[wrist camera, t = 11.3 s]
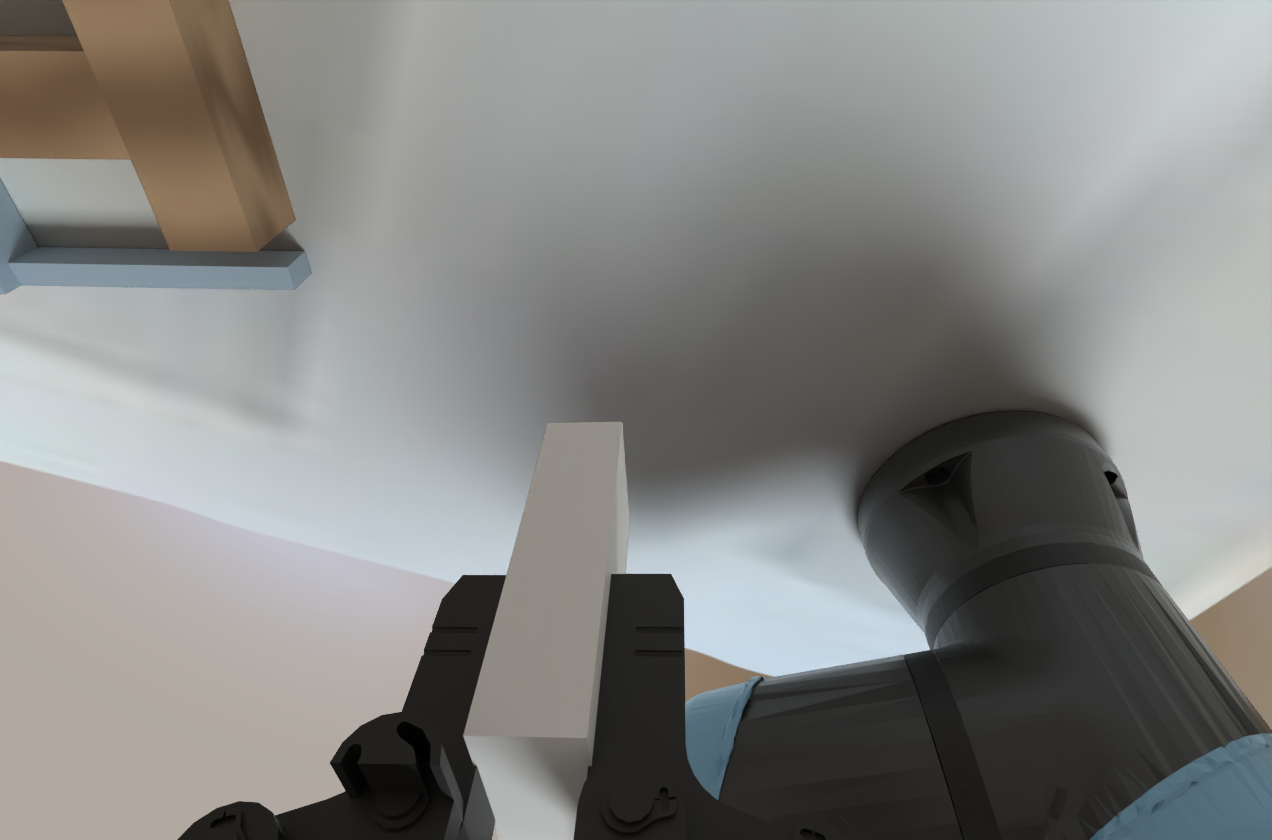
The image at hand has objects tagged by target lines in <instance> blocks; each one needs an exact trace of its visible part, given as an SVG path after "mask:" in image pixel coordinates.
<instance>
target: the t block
mask: <svg viewBox="0 0 1272 840" xmlns="http://www.w3.org/2000/svg"><path fill="white" fill-rule="evenodd" d="M62 1H63V4H64V6H65V8H66V11H67V13H68V15H69V18H70V20H71V22H72V24H73V27H74V29H75V31H76V34H77V36H37V35H0V158H47V159H128V160H131V161H132V163H133V166H134V168H135V170H136V173H137V175H138V177H139V180H140V182H141V184H142V187H143V189H144V191H145V193H146V196H147V198H148V200H149V203H150V205H151V207H152V210H153V212H154V214H155V217H156V219H157V221H158V224H159V226H160V228H161V230H162V233H163V235H164V237H165V240H166V242H167V244H168V247H169V249H170V251H225V252H258V251H259V250H260V249H261V248H263V247H264V246H265V245H266V244H267V243H269V242H270V241H271V240H272V239H273V238H275V237H276V236H277V235H278V234H279V233H281V232H282V231H283V230H284V229H286V228H287V227H288V226H289V225H290V224H292V223H293V222H294V221H295V220H296V219H295V216H294V212H293V209H292V206H291V203H290V199H289V196H288V193H287V190H286V186H285V183H284V180H283V177H282V173H281V170H280V167H279V163H278V160H277V157H276V154H275V150H274V147H273V144H272V141H271V137H270V134H269V131H268V127H267V124H266V121H265V118H264V114H263V111H262V108H261V105H260V101H259V98H258V95H257V92H256V88H255V85H254V82H253V78H252V75H251V72H250V69H249V65H248V62H247V59H246V56H245V52H244V49H243V46H242V42H241V39H240V36H239V33H238V29H237V26H236V23H235V20H234V16H233V13H232V10H231V7H230V3H229V0H62Z"/></svg>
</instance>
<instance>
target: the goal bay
mask: <svg viewBox="0 0 1272 840" xmlns="http://www.w3.org/2000/svg"><path fill="white" fill-rule="evenodd" d="M310 274H311V270H310V267H309V263H308V260H307V257H306V253H305V251H262V250H259V251H258V252H225V251H170V249H134V248H70V247H38V246H37V244H36V243H35V241H34V239H33V237H32V235H31V234H30V232H29V230H28V228H27V226H26V225H25V223H24V221H23V219H22V217H21V216H20V214H19V212H18V210H17V208H16V207H15V205H14V203H13V201H12V199H11V197H10V196H9V194H8V192H7V190H6V188H5V187H4V185H3V183H2V181H1V179H0V294H7V293H9V292H10V291H12V290H14V289H15V288H17V287H19V286H21V285H33V286H91V287H149V288H207V289H266V290H295V289H296V288H297V287H298V286H299V285H300V284H301V283H302V282H303V281H304V280H305V279H306V278H307V277H308V276H309V275H310Z"/></svg>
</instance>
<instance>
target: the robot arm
mask: <svg viewBox="0 0 1272 840" xmlns="http://www.w3.org/2000/svg"><path fill="white" fill-rule="evenodd" d="M629 525H630V520H629V507H628V493H627V479H626V465H625V452H624V438H623V424H622V422H556V423H547V427H546V431H545V434H544V438H543V442H542V445H541V449H540V453H539V456H538V460H537V464H536V468H535V471H534V475H533V479H532V482H531V486H530V490H529V494H528V497H527V501H526V505H525V508H524V512H523V516H522V519H521V523H520V527H519V531H518V534H517V538H516V542H515V545H514V549H513V553H512V556H511V560H510V564H509V568H508V571H507V575H463V576H462V577H461V578H460V579H459V580H458V581H457V583H456V584H455V585H454V586H453V587H452V588H451V590H450V591H449V592H448V593H447V594H446V595H445V597H444V598H443V599H442V601H441V604H440V607H439V610H438V612H437V615H436V618H435V621H434V623H433V626H432V629H433V630H432V632H431V633H430V635H429V637H428V640H427V643H426V646H425V648H424V655H423V656H422V657H421V660H420V662H419V665H418V668H417V671H416V674H415V676H414V679H413V682H412V685H411V688H410V690H409V693H408V696H407V699H406V702H405V704H404V707H403V710H402V712H399V713H393V714H386V715H382V716H379V717H377V718H375V719H374V720H371V721H370V722H367V723H366V724H363V725H362V726H360V727H359V728H358V729H357V730H356V731H355V732H354V733H353V734H351V735H350V736H349V737H348V738H347V739H346V740H345V741H344V742H343V743H342V744H341V746H340V747H339V749H338V751H337V752H336V754H335V755H334V757H333V759H332V760H331V762H330V764H331V766H332V767H333V769H334V771H335V772H336V774H337V776H338V778H339V780H340V781H341V783H342V785H343V787H344V788H345V790H346V791H345V792H343V793H341V794H339V795H336V796H334V797H332V798H329V799H327V800H323V801H320V802H317V803H314V804H310V805H307V806H304V807H301V808H298V809H295V810H291V811H288V812H285V813H282V814H279V815H274V814H273V813H272V812H271V811H270V810H268V809H267V808H265V807H264V806H262V805H261V804H260V803H255V802H241V801H239V802H236V803H233V804H229V805H226V806H222V807H219V808H217V809H215V810H213V811H212V812H210V813H209V814H207V815H205V816H204V817H202V818H201V819H199V820H198V821H196V822H194V823H193V824H192V825H191V826H190V827H189V828H188V829H187V830H186V832H185V833H184V834H183V835H182V836H181V837H180V838H179V839H178V840H492V835H493V830H494V826H495V829H496V832H497V834H498V838H499V840H1272V730H1271V729H1270V727H1269V726H1268V725H1267V723H1266V722H1265V721H1264V720H1263V718H1262V717H1261V715H1260V714H1259V713H1258V712H1257V710H1256V709H1255V708H1254V706H1253V705H1252V704H1251V702H1250V701H1249V700H1248V698H1247V697H1246V696H1245V694H1244V693H1243V692H1242V690H1241V689H1240V688H1239V686H1238V685H1237V684H1236V682H1235V681H1234V680H1233V679H1232V677H1231V676H1230V675H1229V673H1228V672H1227V671H1226V669H1225V668H1224V667H1223V665H1222V664H1221V663H1220V661H1219V660H1218V659H1217V657H1216V656H1215V655H1214V653H1213V652H1212V651H1211V649H1210V648H1209V647H1208V645H1207V644H1206V643H1205V642H1204V640H1203V639H1202V638H1201V636H1200V635H1199V634H1198V632H1197V631H1196V630H1195V628H1194V627H1193V626H1192V624H1191V623H1190V622H1189V620H1188V619H1187V618H1186V616H1185V615H1184V614H1183V612H1182V611H1181V610H1180V608H1179V607H1178V606H1177V605H1176V603H1175V602H1174V601H1173V599H1172V598H1171V597H1170V595H1169V594H1168V593H1167V591H1166V590H1165V589H1164V588H1163V586H1162V585H1161V584H1160V582H1159V581H1158V580H1157V578H1156V577H1155V575H1154V574H1153V573H1152V571H1151V570H1150V568H1149V567H1148V566H1147V564H1146V563H1145V561H1144V559H1143V555H1142V551H1141V547H1140V543H1139V539H1138V535H1137V531H1136V527H1135V523H1134V519H1133V515H1132V511H1131V507H1130V504H1129V501H1128V497H1127V491H1126V488H1125V484H1124V481H1123V479H1122V476H1121V474H1120V472H1119V471H1118V469H1117V467H1116V466H1115V464H1114V463H1113V462H1112V460H1111V459H1110V458H1109V457H1108V455H1107V454H1106V453H1105V452H1104V450H1103V449H1102V448H1101V447H1100V445H1099V444H1098V443H1097V442H1096V441H1095V440H1094V438H1093V437H1092V436H1091V435H1089V434H1088V433H1087V432H1086V431H1085V430H1083V429H1082V428H1080V427H1079V426H1077V425H1075V424H1073V423H1071V422H1069V421H1067V420H1064V419H1061V418H1058V417H1055V416H1051V415H1047V414H1042V413H1036V412H1025V411H1006V412H994V413H987V414H981V415H976V416H972V417H968V418H964V419H961V420H957V421H954V422H951V423H949V424H946V425H943V426H941V427H938V428H936V429H934V430H932V431H930V432H928V433H926V434H924V435H922V436H920V437H919V438H917V439H915V440H914V441H912V442H910V443H909V444H907V445H906V446H905V447H903V448H902V449H901V450H899V451H898V452H897V453H895V454H894V455H893V456H892V457H891V458H890V459H889V460H888V461H887V462H886V463H885V464H884V465H883V466H882V467H881V468H880V469H879V470H878V471H877V473H876V474H875V475H874V477H873V478H872V479H871V481H870V483H869V484H868V486H867V488H866V490H865V492H864V494H863V496H862V499H861V502H860V506H859V511H858V528H859V533H860V536H861V539H862V542H863V546H864V549H865V552H866V555H867V558H868V561H869V563H870V565H871V567H872V568H873V570H874V572H875V573H876V575H877V576H878V577H879V579H880V580H881V581H882V582H883V583H884V584H885V585H886V586H887V587H888V589H889V590H890V591H891V593H892V594H893V595H894V596H895V598H896V599H897V600H898V601H899V603H900V604H901V605H902V606H903V608H904V609H905V610H906V611H907V613H908V614H909V615H910V616H911V617H912V619H913V620H914V621H915V622H916V623H917V625H918V626H919V627H920V628H921V629H922V631H923V632H924V634H925V636H926V639H927V642H928V645H929V647H930V650H928V651H922V652H917V653H911V654H906V655H898V656H893V657H887V658H881V659H875V660H869V661H864V662H858V663H852V664H846V665H841V666H835V667H829V668H823V669H818V670H812V671H806V672H800V673H795V674H789V675H783V676H777V677H772V678H766V679H765V678H764V677H760V676H757V677H753V678H751V679H749V681H748V682H746V683H741V684H737V685H733V686H729V687H724V688H720V689H716V690H712V691H707V692H703V693H700V694H698V695H696V696H694V697H693V698H691V699H690V700H688V701H687V702H686V703H685V657H684V656H685V655H684V598H683V596H682V594H681V592H680V591H679V589H678V587H677V585H676V583H675V581H674V579H673V577H672V575H671V574H626V563H627V550H628V538H629Z"/></svg>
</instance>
